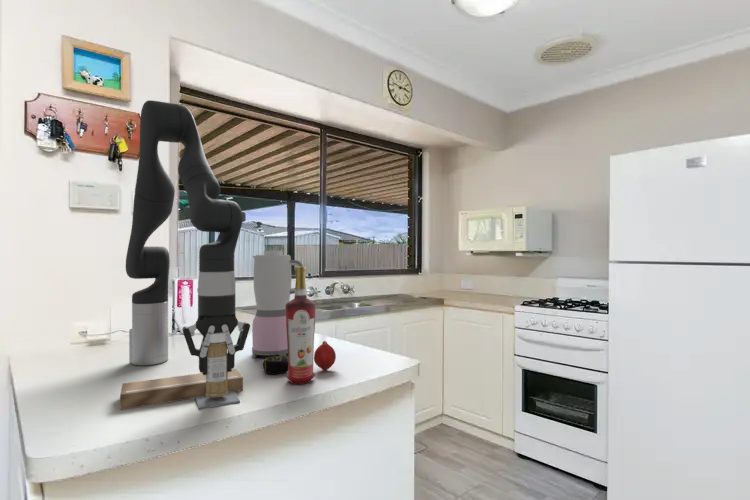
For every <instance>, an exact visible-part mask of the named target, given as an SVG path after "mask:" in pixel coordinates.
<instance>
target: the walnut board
mask: <svg viewBox="0 0 750 500" xmlns="http://www.w3.org/2000/svg"><path fill="white" fill-rule="evenodd" d="M243 381H244V379H243V376H242V374H241V373H240V372H239V370H238V369H237V368H234V369H231V372H228V378H227V390H228V392H229V391H234V392H235V393H236V392H241V391H244V389H243V388H244V387H243V386H244V385H243V384H244V382H243ZM203 395H206V375H203V374H202V373H194V374H193V373H192V374H185V375H177V376H171V377H163V378H162V377H161V378H155V379H147V380H139V381H131V382H125V383H122V385H121V389H120V394H119V410H126V409H131V408H133V409H134V408H140V407H145V406H150V405H159V404H164V403H170V402H177V401H183V400H189V399H196V397H197V396H203Z"/></svg>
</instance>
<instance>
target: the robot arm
mask: <svg viewBox="0 0 750 500" xmlns="http://www.w3.org/2000/svg"><path fill="white" fill-rule="evenodd" d="M139 121H140V122H139V149H138V151H139V154H138V158H139V159H138V166H137V174H136V181H135V189H134V197H133V207H132V208H133V209H132V221H131V222H132V223H131V230H130V235H129V240H128V241H129V242H128V247H127V250H126V251H127V252H126V257H125V273H126V275H127V277H129V279H133V280H142V279H143V280H144V279H146V280H147V279H154V282H152V284H151V285H148V286H147V287H145V288H143V289H140V290H137V291H135V292H133V293H132V296H131V329H129V332H128V334H129V335H128V336H129V337H128V338H129V340H128V341H129V343H128V345H129V348H128V352H129V353H128V355H129V358H128V360H129V361H128V362H129V364H130V363H131V364H132V365H135V366H152V365H158V364H162V363H165V362H168V360H169V278H170V277H169V275H170V264H171V263H170V261H171V260H170V259H171V258H170V252H169V250H168V248H166V247H165V246H146V243H147V241H148V239H150V237H151V236H152V234H153V233H154V232H156V230H157V229H159V228H160V227H161V225H163V224H164V222H166V221H167V220H168V219H169V217H170V215H171V214H172V211H173V208H174V207H173V206H174V200H175V192H176V191H175V185H174V183H173V181H172V179H171V177H170V175H169V174H168V173H167V171H166V170H165V168H164V166H163V164H162V162H161V160H160V157H159V152H158V150H159V149H158V148H159V147H158V145H159V142H163V143H164V142H167V143H181V145H183V147H184V151H183V153H182V155H181V156H180V159H179V161H178V167H177V173H178V177H179V179H180V182H181V185H182V186H183V188H184V190H185V192H186V195H187V199H188V200H187V202H188V209H189V221H190V223H191V225H193V227H194V228H195V229H197V230H198V231H200V232H206V233H218V236H217V238H216V240H215V241H214V242H210V243H206V244H203V245H201V246H200V249H199V256H198V265H199V267H198V268H199V269H198V272H199V273H198V281H197V318H196V319H197V320H196V321H195V322H194V323H195V324H192V325H189V326H185V325H184V326H183V327H182V334H183V336H184V339H185V341H186V344H187V348H188V351H189V354H190V355H191V356H195V357H198V370H199V372H200V373H202V374H203V375H207V357H206V353H207V350H208V347H209V345H210V337H208V336H210V335H211V334H213V333H221V332H223V333H224V334H225V340H226V344H227V363H228V372H231V369H235V365H236V364H235V357H236V356H235V355H236V353H237V352H239V351H243V350H244V348H245V345H246V341H247V339H248V335H249V331H250V328H251V325H250V323H249V322H247V321H239V320H238V318H237V316H236V295H237V294H236V276H235V253H236V252H235V251H236V247H237V244H238V239H239V237H240V236H239V235H240V232H241V230H242V225H243V220H244V217H243V211H242V209H241V206H240V205H239V203H237V202H236V201H233V200H228V199H227V200H226V199H218V198H219V196H220V194H221V186H220V183H219V181H218V179H217V177H216V175H215V174H214V172H213V170H212V168H211V166H210V164H209V162H208V159H207V157H206V154H205V151H204V147H203V144H202V141H201V136H200V134H199V130H198V127H197V124H196V120H195V117H194V116H193V114H192V112H191V110H190V109H189V108H188V107H187V106H185V105H183V104H178V103H171V102H166V101H161V100H160V101H158V100H152V99H151V100H149V99H148V100H146V101H145V102H144V104H143V105H142V107H141V111H140V120H139ZM236 328H237V330H238V332H239V334H238V338H237V341H236V344H234V343H233V339H232V337H231V335H232V333H233V332H234V331H235V330H236ZM196 330H197V331H198V332H199V333H200V335H202V339H201V343H200V347H199V348H197V347H196V346H195V342H194V340H193V337H195V331H196ZM207 340H208V341H207ZM200 373H199V374H200Z"/></svg>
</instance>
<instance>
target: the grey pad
mask: <svg viewBox="0 0 750 500" xmlns="http://www.w3.org/2000/svg"><path fill="white" fill-rule="evenodd" d="M195 400H196V404H197V408H198V410H203V409H209V408H213V407H214V408H215V407H221V406H227V405H233V404H240V403H241V399H240V398H239V397H238V395H237V393H236V392H234V391H229V392H228V393H227V394H226V395H224V396H221V397H216V398H213V397H207V396H206V395H203V396H197V397H196V398H195Z"/></svg>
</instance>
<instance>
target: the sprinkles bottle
mask: <svg viewBox="0 0 750 500" xmlns="http://www.w3.org/2000/svg"><path fill="white" fill-rule="evenodd" d="M208 337H210V345H209V347H208V350H207V353H206V357H207V375H206V396H207V397H213V398H216V397H221V396H224V395H226V394H227V393H228V390H227V378H228V363H227V353H228V350H227V344H226V340H225V334H224V333H223V332H221V333H213V334H211V335H210V336H208ZM207 341H208V340H207Z"/></svg>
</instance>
